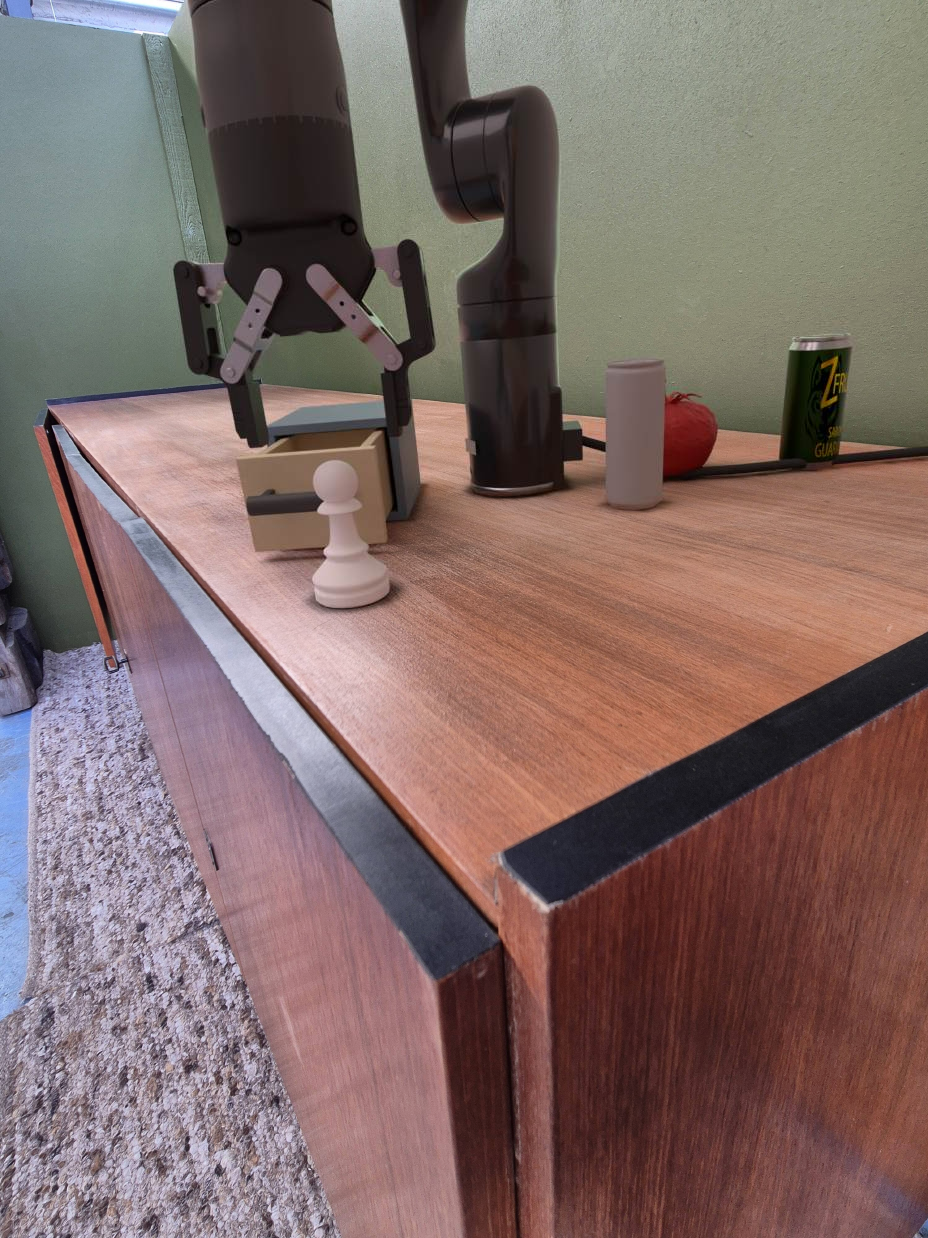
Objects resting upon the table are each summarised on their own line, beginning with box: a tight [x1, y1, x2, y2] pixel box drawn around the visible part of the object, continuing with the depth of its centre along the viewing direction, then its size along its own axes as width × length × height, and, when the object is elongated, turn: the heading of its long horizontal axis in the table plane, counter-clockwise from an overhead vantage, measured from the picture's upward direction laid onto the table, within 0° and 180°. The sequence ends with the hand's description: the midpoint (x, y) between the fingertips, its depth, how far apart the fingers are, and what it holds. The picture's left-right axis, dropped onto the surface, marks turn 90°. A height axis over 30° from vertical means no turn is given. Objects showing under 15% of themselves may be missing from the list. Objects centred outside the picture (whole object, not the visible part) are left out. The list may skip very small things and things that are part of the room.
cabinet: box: [266, 397, 422, 522], centre depth 69 cm, size 14×12×9 cm
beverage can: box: [604, 357, 667, 511], centre depth 61 cm, size 5×5×12 cm
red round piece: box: [663, 378, 719, 478], centre depth 71 cm, size 10×10×9 cm
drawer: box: [235, 427, 396, 553], centre depth 58 cm, size 17×10×7 cm, turn 178°
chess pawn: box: [311, 460, 391, 609], centre depth 46 cm, size 5×5×9 cm
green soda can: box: [778, 332, 853, 471], centre depth 69 cm, size 5×5×12 cm
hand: (326, 440), depth 44 cm, fingers open, 8 cm apart
